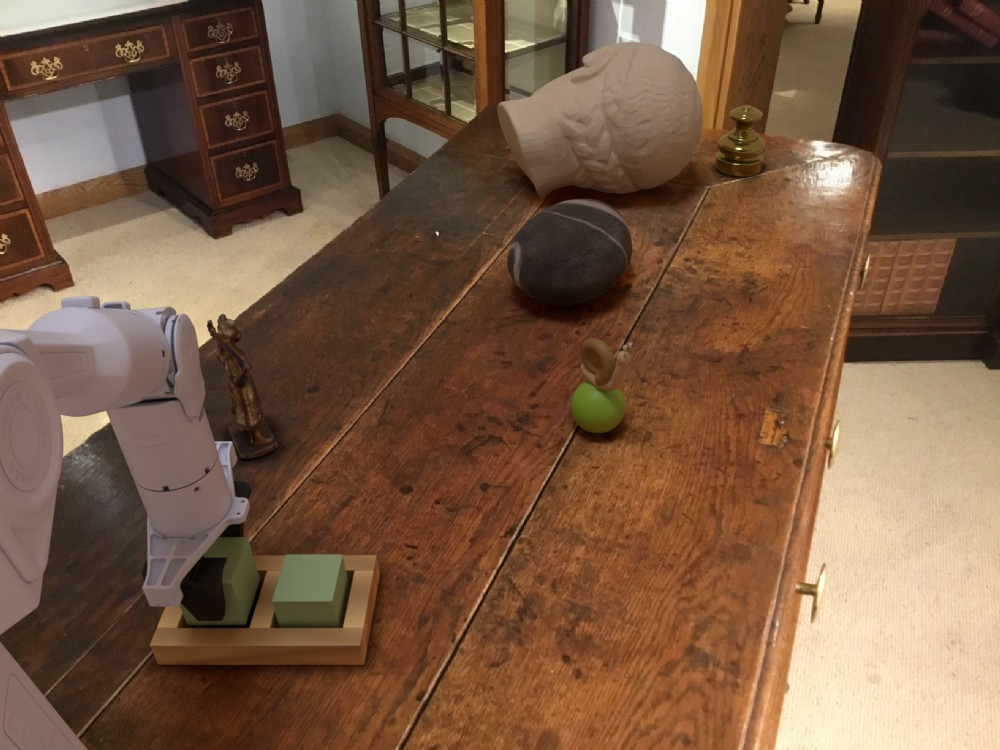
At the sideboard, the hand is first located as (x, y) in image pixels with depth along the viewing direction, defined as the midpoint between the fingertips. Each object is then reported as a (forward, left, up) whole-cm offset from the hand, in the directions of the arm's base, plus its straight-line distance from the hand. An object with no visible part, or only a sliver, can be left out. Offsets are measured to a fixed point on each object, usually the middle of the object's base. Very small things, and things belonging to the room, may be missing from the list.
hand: (220, 590), depth 67 cm
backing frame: (+2, -3, -3) cm, 5 cm away
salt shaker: (+104, +4, -4) cm, 104 cm away
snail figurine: (+37, -12, -4) cm, 39 cm away
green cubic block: (+4, -6, -3) cm, 8 cm away
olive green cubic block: (0, 0, -1) cm, 1 cm away
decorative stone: (+59, +6, -4) cm, 60 cm away
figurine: (+15, +15, -4) cm, 22 cm away
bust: (+87, +20, -4) cm, 90 cm away
